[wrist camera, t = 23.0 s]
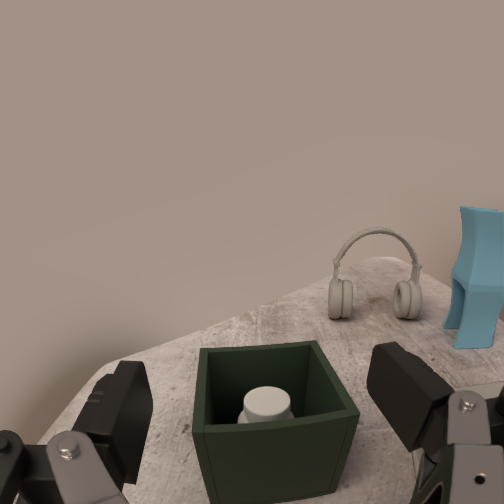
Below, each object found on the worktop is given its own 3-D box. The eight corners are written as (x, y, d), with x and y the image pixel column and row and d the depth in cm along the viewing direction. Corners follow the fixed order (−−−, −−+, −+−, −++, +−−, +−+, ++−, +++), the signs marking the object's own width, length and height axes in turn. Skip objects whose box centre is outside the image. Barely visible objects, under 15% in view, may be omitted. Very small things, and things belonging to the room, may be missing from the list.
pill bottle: (229, 454, 25) (223, 395, 23) (268, 434, 28) (270, 374, 26) (261, 485, 21) (261, 428, 19) (301, 460, 24) (310, 400, 22)
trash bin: (211, 507, 19) (191, 432, 16) (211, 429, 30) (200, 347, 28) (334, 492, 20) (360, 413, 17) (307, 420, 31) (315, 339, 29)
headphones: (409, 309, 61) (418, 227, 57) (419, 325, 53) (431, 232, 49) (327, 309, 65) (330, 224, 61) (327, 324, 57) (333, 229, 53)
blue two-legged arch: (494, 347, 38) (519, 214, 33) (454, 349, 42) (476, 209, 36) (479, 326, 48) (496, 209, 42) (441, 326, 51) (457, 205, 46)
